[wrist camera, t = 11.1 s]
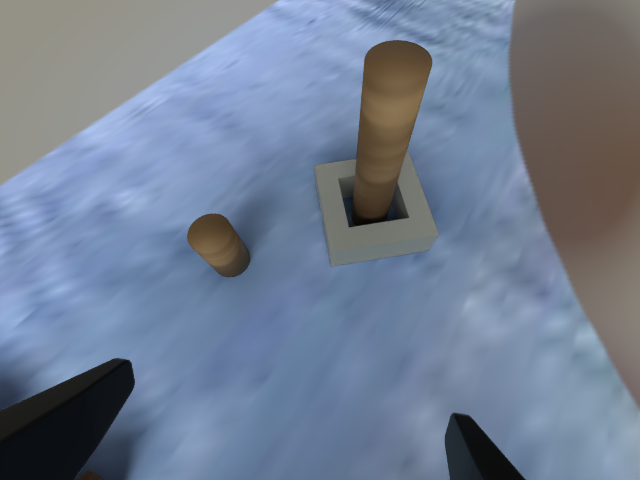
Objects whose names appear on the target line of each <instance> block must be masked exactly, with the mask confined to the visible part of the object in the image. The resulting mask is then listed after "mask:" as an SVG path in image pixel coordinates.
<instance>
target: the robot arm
mask: <svg viewBox="0 0 640 480" xmlns="http://www.w3.org/2000/svg"><path fill="white" fill-rule="evenodd" d="M134 385H135V379H134V374H133V368H132V363H131V362H130V360H126V359H120V358H115V359H112V360H110V361H108V362H106V363H103V364H101V365H99V366H97V367H95V368H93V369H90V370H88V371H86V372H84V373H82V374H80V375H77V376H75V377H73V378H71V379H69V380H67V381H65V382H62V383H60V384H58V385H56V386H54V387H52V388H49V389H47V390H45V391H43V392H41V393H39V394H36V395H34V396H32V397H30V398H28V399H26V400H23V401H21V402H19V403H17V404H15V405H13V406H10V407H8V408H6V409H4V410H2V411H0V480H73V479H74V478H75V476H76V475H77V474H78V472H79V471H80V470H81V468H82V467H83V466H84V464H85V463H86V462H87V460H88V459H89V457H90V456H91V455H92V453H93V452H94V450H95V449H96V448H97V446H98V445H99V443H100V442H101V440H102V439H103V437H104V436H105V434H106V432H107V431H108V429H109V428H110V426H111V424H112V423H113V421H114V420H115V418H116V416H117V415H118V413H119V411H120V410H121V408H122V407H123V405H124V403H125V402H126V400H127V399H128V397H129V395H130V394H131V392H132V390H133V388H134ZM445 448H446V455H447V462H448V468H449V475H450V480H525V478H524V477H523V476H522V475H521V474H520V473H519V472H518V470H517V469H516V468H515V467H514V466H513V465H512V463H511V462H510V461H509V460H508V459H507V458H506V457H505V455H504V454H503V453H502V452H501V451H500V450H499V449H498V447H497V446H496V445H495V444H494V443H493V442H492V441H491V439H490V438H489V437H488V436H487V435H486V434H485V432H484V431H483V430H482V429H481V428H480V427H479V426H478V424H477V423H476V422H475V421H474V420H473V419H472V418H471V417H470V416H469V415H466V414H460V413H452V415H451V416H450V420H449V423H448V427H447V430H446V434H445Z"/></svg>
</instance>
